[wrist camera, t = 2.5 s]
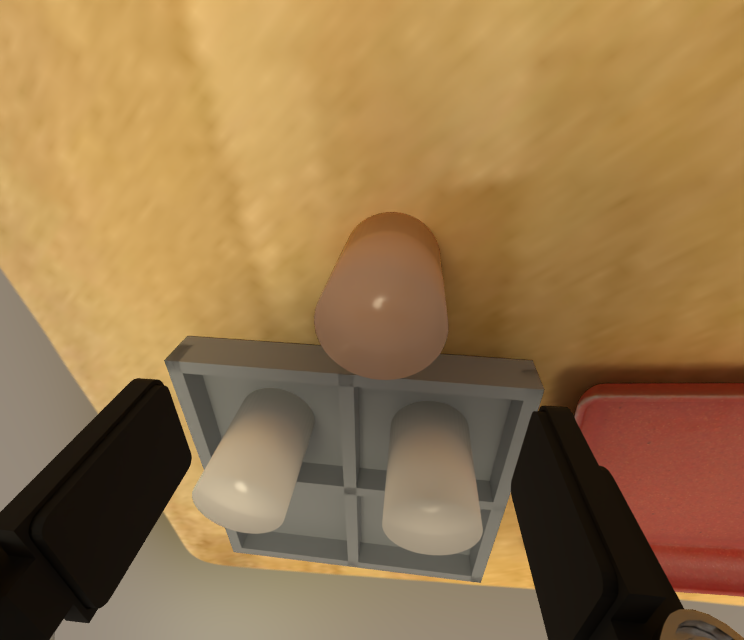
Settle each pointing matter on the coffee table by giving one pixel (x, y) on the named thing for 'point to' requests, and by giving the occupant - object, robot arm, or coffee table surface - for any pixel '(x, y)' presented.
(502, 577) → the coffee table surface
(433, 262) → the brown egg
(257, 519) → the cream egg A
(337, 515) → the gray divided tray
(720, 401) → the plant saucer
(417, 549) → the cream rounded cylinder
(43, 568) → the robot arm
